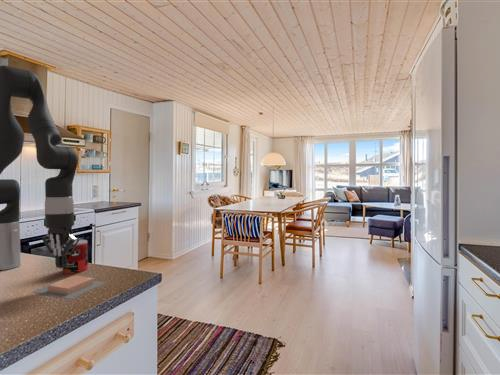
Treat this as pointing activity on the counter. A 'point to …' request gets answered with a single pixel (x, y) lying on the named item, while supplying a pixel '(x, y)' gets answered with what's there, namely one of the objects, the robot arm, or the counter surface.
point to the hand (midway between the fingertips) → (61, 267)
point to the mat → (72, 295)
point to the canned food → (77, 259)
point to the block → (70, 284)
